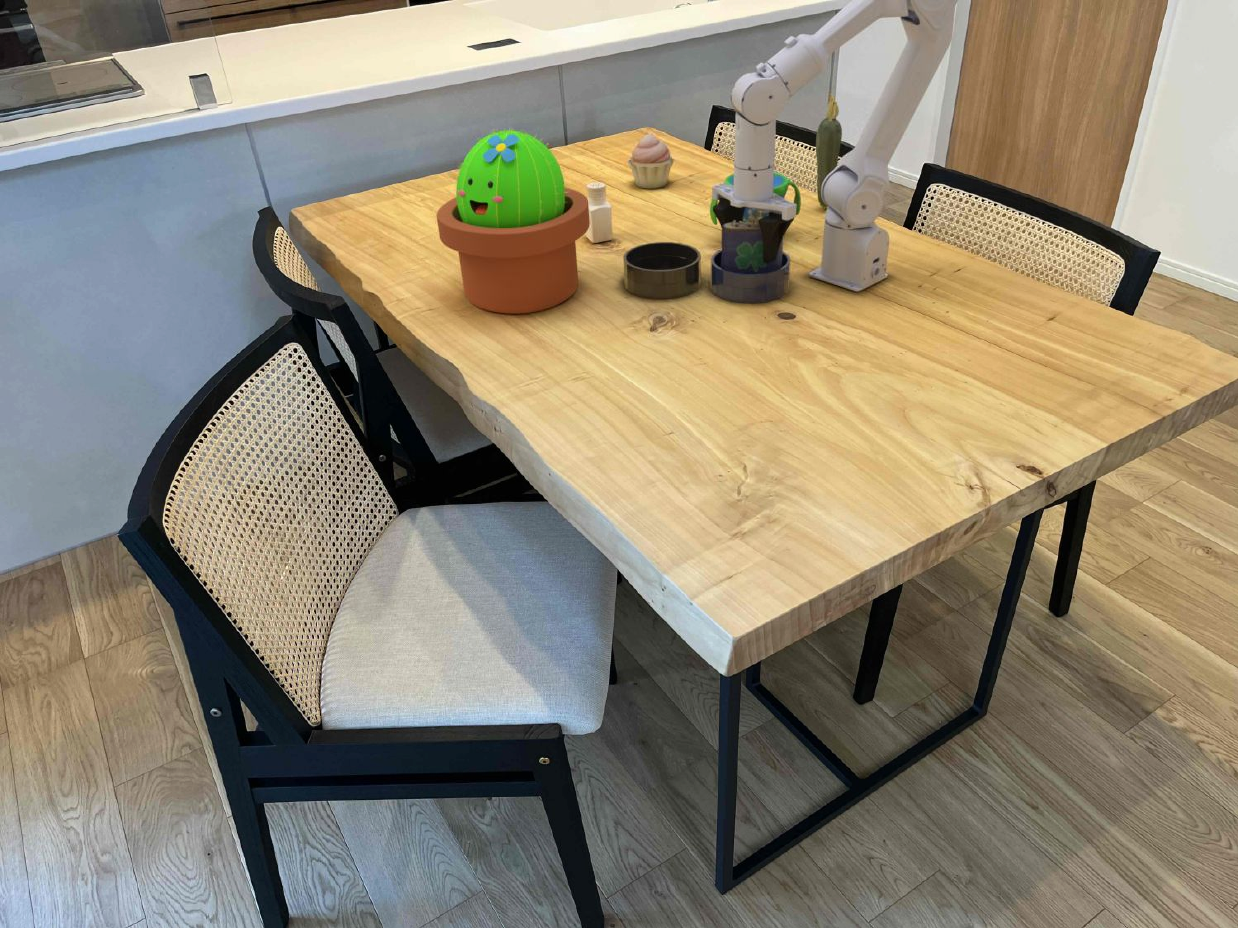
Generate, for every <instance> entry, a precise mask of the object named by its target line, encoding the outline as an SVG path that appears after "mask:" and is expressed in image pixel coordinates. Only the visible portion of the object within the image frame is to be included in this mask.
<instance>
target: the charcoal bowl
mask: <svg viewBox="0 0 1238 928" xmlns="http://www.w3.org/2000/svg"><path fill="white" fill-rule="evenodd" d="M622 257H623V281H624V288H625V289H626V291H627V292H629V293H631V294H632V295H634V296H637V297H640V298H645V299H651V300H669V299H677V298H681V297H684V296H688V295H690V294H692V293H695V292H696V291H697V290H698V289H699V288H700V286H701V283H702V254H701V252H700V251H699V250H698V249H697V248H696V247H694V246H692V245H689V244H685V243H681V242H674V241H656V242H648V243H644V244H643V243H642V244H639V245H636V246H634V247H632V248H630V249H628V250H627V251H625V252H624V254H623V256H622Z"/></svg>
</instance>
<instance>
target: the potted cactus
mask: <svg viewBox="0 0 1238 928" xmlns="http://www.w3.org/2000/svg"><path fill="white" fill-rule="evenodd" d="M508 128H509V129H508V130H506V129H504V130H498V129H496V130H494V129H491V133H489V134H487V135H486V136H485V137H482V138H481V137H480V136H478V138H477V140H478V142H477V143H475V144H474V145H473V146H472V148H470V147H468V149H469V150H470V151H469V152H468V153H467V155H466V156H465V158H464V159H463V162H460V161H459V163H457V167H456V168H457V169H456V170H459V172H458V174H457V175H455V176H456V177H455V178H456V189H455V193H456V196H455V197H453V198H452V199H450V200H448V201H446V202H445V203H444V204H443V205H441V206H440V208H439V209H438V210H437V211H436V222H437V229H438V234H439V239H440V241H441V243H442V244H443V245H444V246H445V247H447V248H449V249H451V250H453V251H456V252H458V258H459V259H458V260H459V266H460V273H461V279H462V286H463V292H464V295H465V298H466V300H467V301H468V302H469V303H470V304H471V305H473V306H475V307H476V308H480V309H483V310H485V311H489V312H494V313H500V314H529V313H536V312H540V311H544V310H549V309H551V308H553V307H556V306H557V305H560V304H562V303H563V302H565V301H567V300H568V299H570V298H571V297H572V296H573V295H574V294H575V293H576V291H577V289H578V286H579V273H578V272H579V271H578V260H577V259H578V258H577V247H576V245H577V244H576V241H578V240H579V239H581V238H582V237H583V236H585V235H586V232H587V230H588V228H589V225H590V220H589V205H588V197H586V195H585V194H583V193H582V192H580V191H577V190H575V189H572V188H569V187H568V184H565V180H564V178H565V179H566V176H564V175H563V172H565V171H566V169H565V168H564V167H562V168H561V167H560V166H561V165H560V164H559V162H558V160H557V159H556V157H555V155H554V153H553V152H552V150H550V148H548V146H549V143H546V144H544V142H543V141H542V140H543V136H542V137H540V140H539V139H538V138H536V137H537V136H538V133H536V135H535V136H532V135H531V134H529V133H528V131H525V132H524V131H523V130H519V131H518V130H513V128H511V126H509V127H508ZM458 165H459V166H458ZM567 179H569V178H567Z"/></svg>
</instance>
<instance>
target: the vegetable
mask: <svg viewBox="0 0 1238 928" xmlns="http://www.w3.org/2000/svg"><path fill="white" fill-rule="evenodd" d="M828 97H829V98H828V101H827V103H828V104H827V108H826V111H825V116H826V117H825V118H823V119H822V120H821V122H819V123H820V124H819V125H818V128H817V131H816V135H815V136H816V139H815V156H816V170H817V171H816V174H817V175H816V176H817V177H816V190H817V191H816V192H817V201H818V203H819V206H820V207H822V209H823V210H825V209H827V205H826V204H825V203H824V201H823V200H822V197H821V186H822V183H823V181H824V179H825V178H826V177H827V175H828V174H829V173H831V172H832V171H833V170H834V169H835V168H836V167H837V165H838V163H839V155H840V149H841V143H842V139H843V128H842V124H841V123H840V121H839V120H838V119H837V118H838V116H839V114H840V112H839V111H840V109H839V105H838V102H837V101H836V96H835V95H834V94H833V93H830V94H829V95H828Z"/></svg>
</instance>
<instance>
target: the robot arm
mask: <svg viewBox="0 0 1238 928" xmlns="http://www.w3.org/2000/svg"><path fill="white" fill-rule="evenodd" d="M958 2H959V0H850V1H849V2H848V3H847V4H846V5H845V6H844V7H843V8H841V10H839V11H838V12H837V13H836V14H835V15H833V16H832V18H831V19H829V20H828V21H827V22H826V23H825V24H824V25H823V26H822V27H820V29H818V30H817V31H816V32H815V33H814V34H807V33H800V34H799V35H798V36H796V37H794V36H792V35H790V36H789V37H788V38H786V39H785V40H784V43H783V44H784V45H785V46H784V47H783V48H782V49H780V50H779V51H778V52H777V53H776V54H774V55H773V56H772V57H770V58H769V59H768V60H767V61H765V62H764V63H763V62H762V61H761V62H760V63H758V64H757V65H756V66H755V69H756V72H748V73H745V74H743V75H742V76H740V77H739V78H738V79H737V81H736V82H735V83H734V87H733V88H732V91H731V93H729V95H728V97H729V102H730V105H731V107H732V109H733V110H734V111H735V125H734V144H733V145H734V148H733V149H734V150H733V151H734V153H733V174H734V186H732V185H725V184H724V183H719V184H715V185H713V186H712V187H711V200H712V199H714V200H718V204H717V205H714V206H713V212H714V214H715V215H716V219H717V222H718V223H719V226H720V229H722V226H723V225H724V224H726V223H731V222H733V221H734V220H736V222H737V223H740V222H739V221H743V216H744V212H745V208H746V207H749V208H752V209H756V210H759V211H763V212H766V213H769V216H766V217H764V218H761V219H759V220H758V223H759V225H760V228H761V233H762V239H763V261H764V263H766V264H768V263H770V262H773V261H775V260H776V257H777V254H778V250H779V247H780V244H781V242H782V239H783V240H784V237H785V235H786V233H787V231H788V229H789V227H790V226H791V225H792V224H793V221H794V220H795V218H796V217H797V215H796V206H797V204H795V203H794V202H791V201H789V200H787V199H785V197H784V198H782V197H780V196H778V195H776V194H775V193H773V182H774V172H775V157H776V156H775V155H776V137H777V135H776V134H777V132H776V129H777V127H776V126H777V125H776V124H777V119H778V118H779V117H780V116H781V113H782V112H783V110H784V106H785V104H786V102H787V101H788V100H790V99H791V98H792V97H793V96H795V95H796V94H797V93H798V92H799V91H801V90H802V89H803V88H804V87H805V86H807V85H808V84H809V83H811V82H812V81H813V80H814V79H816V78H817V77H818V76H819V75H820V74H822V73H823V72H824V71H825V70H826V67H827V64H828V59H829V56H830V55H832V54H833V53H834V52H836V51H837V50H838V49H840V48H841V47H843V46H844V45H845V44H847V43H848V42H849V41H851V40H852V39H854V37H856V36H858V35H859V34H860V33H861V32H863V31H864V30H865V29H867V28H868V27H870V26H871V25H872V24H874V23H876V22H877V21H878V20H880V19H884V18H885V19H887V18H899V19H900V21H901V24H902V27H903V29H904V33H905V35H906V38H907V41H906V44H905V45H904V47H903V49H902V51H901V53H900V56H899V58H898V60H897V62H896V64H895V66H894V67H893V70H892V72H891V73H890V76H889V78H888V80H887V82H886V83H885V86H884V88H883V90H882V92H881V93H880V96H879V98H878V100H877V101H876V104H875V105H874V108H873V110H872V112H871V113H870V116H869V118H868V120H867V122H866V124H865V126H864V128H863V130H862V132H861V134H860V136H859V138H858V140H857V141H856V144H855V145H854V148H853V149H852V150H850V151H848V152H847V153H846V154H844V155H843V156H842V157H841V158H840V160H838V164H837V167H836V168H835V169H834V170H833V171H832V172H831V173H829V174H828V175H827V177H826V178H825V179H824V181H823V183H822V186H821V197H822V200H823V201H824V203H825V204H826V205H827V208H826V213H825V216H824V227H823V239H822V250H821V264H820V267H818V268H815V269H814V270H811V271H810V272H808V276H809V277H811V278H813V279H817V280H820V281H823V282H826V283H829V284H832V285H835V286H838V287H841V288H844V289H847V290H849V291H853V292H857V293H858V292H861V291H863V290H865V289H867V288H869V287H870V286H874V284H877V283H879V282H880V281H883V280H884V279H887V278H888V276H889V274H888V273H887V263H888V257H889V256H888V255H889V247H890V235H889V232H888V231H887V230H886V229H884V228H882V227H881V226H879V225H878V224H876V222H875V221H876V220H877V219H878V218H879V217H880V215H881V213H882V211H883V208H884V201H885V195H886V191H887V189H888V187H889V185H890V175H889V164H890V161H891V160H892V157H893V156H894V154H895V151H896V150H897V148H898V146H899V144H900V143H901V140H902V138H903V136H904V135H905V132H906V131H907V129H908V126H909V125H910V123H911V121H912V119H913V117H914V115H915V114H916V111H917V109H918V107H919V106H920V103H921V102H922V99H923V98H924V96H925V95H926V92H927V90H928V88H929V86H930V84H931V82H932V80H933V78H934V76H935V75H936V72H937V71H938V69H939V67H940V64H942V61H943V59H944V58H945V55H946V54H947V51H948V50H949V48H950V46H951V43H952V40H953V35H954V24H955V12H956V5H957V4H958Z"/></svg>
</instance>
